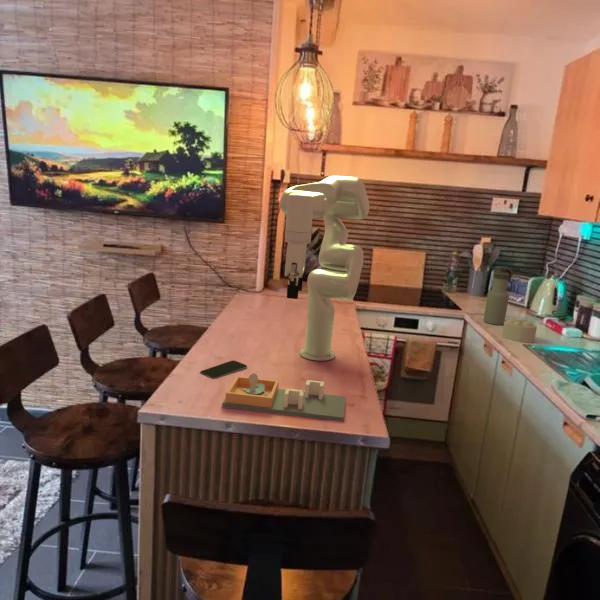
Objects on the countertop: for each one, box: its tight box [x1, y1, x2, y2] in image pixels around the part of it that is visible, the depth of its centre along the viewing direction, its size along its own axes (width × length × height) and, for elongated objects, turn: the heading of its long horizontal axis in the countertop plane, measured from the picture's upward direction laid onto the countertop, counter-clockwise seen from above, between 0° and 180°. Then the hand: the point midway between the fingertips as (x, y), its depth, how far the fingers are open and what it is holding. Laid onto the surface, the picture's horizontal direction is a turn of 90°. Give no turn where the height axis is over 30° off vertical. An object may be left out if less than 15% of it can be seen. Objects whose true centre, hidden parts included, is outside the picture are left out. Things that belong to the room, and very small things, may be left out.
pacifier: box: [241, 372, 267, 396], centre depth 146 cm, size 7×6×6 cm
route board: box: [221, 379, 346, 423], centre depth 146 cm, size 14×33×5 cm, turn 84°
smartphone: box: [199, 360, 248, 380], centre depth 168 cm, size 7×1×15 cm
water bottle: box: [483, 265, 514, 326], centre depth 253 cm, size 10×10×28 cm
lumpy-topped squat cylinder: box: [501, 317, 538, 344], centre depth 230 cm, size 10×13×9 cm
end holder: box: [225, 375, 280, 408], centre depth 147 cm, size 13×13×3 cm
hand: (294, 294), depth 155 cm, fingers open, 9 cm apart
